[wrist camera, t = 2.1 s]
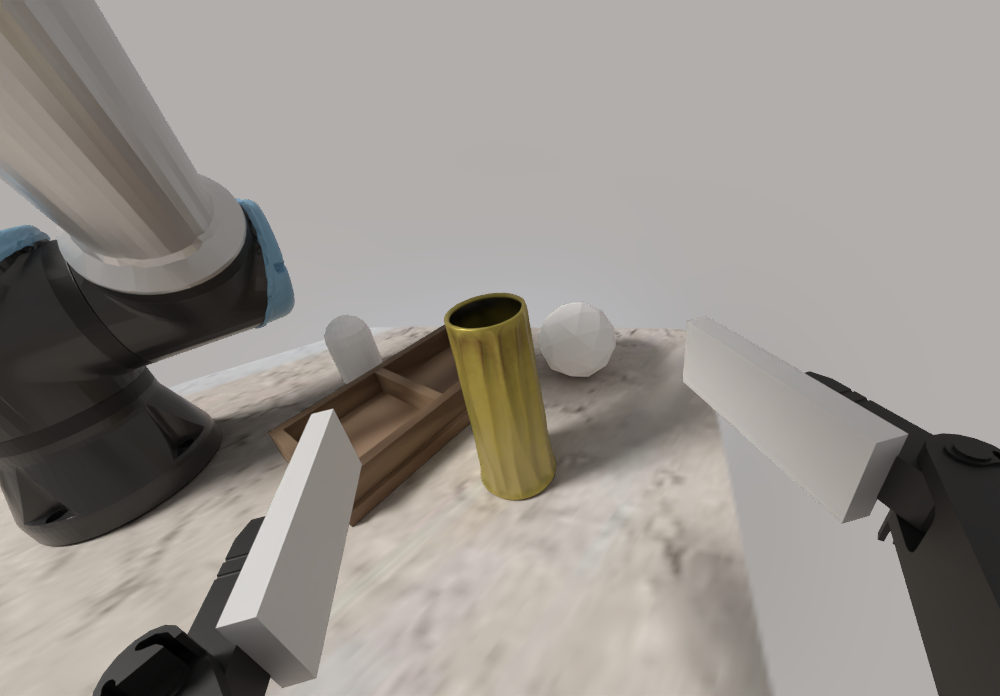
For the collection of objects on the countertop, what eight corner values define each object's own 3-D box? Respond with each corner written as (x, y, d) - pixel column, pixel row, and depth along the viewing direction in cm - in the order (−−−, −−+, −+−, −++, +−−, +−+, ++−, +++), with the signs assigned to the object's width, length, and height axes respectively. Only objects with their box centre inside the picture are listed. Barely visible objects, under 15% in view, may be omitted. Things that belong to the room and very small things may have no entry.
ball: (565, 383, 43) (544, 318, 44) (633, 363, 39) (609, 293, 40) (539, 391, 37) (516, 315, 38) (618, 368, 33) (590, 284, 34)
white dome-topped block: (351, 364, 50) (327, 311, 46) (388, 358, 50) (368, 304, 46) (336, 387, 46) (309, 331, 42) (377, 381, 45) (354, 323, 41)
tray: (284, 458, 36) (266, 430, 34) (452, 345, 50) (445, 321, 48) (352, 526, 28) (332, 494, 26) (530, 369, 42) (525, 341, 40)
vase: (549, 436, 32) (527, 283, 25) (563, 494, 27) (541, 322, 20) (480, 447, 33) (440, 299, 26) (482, 508, 27) (431, 342, 20)
